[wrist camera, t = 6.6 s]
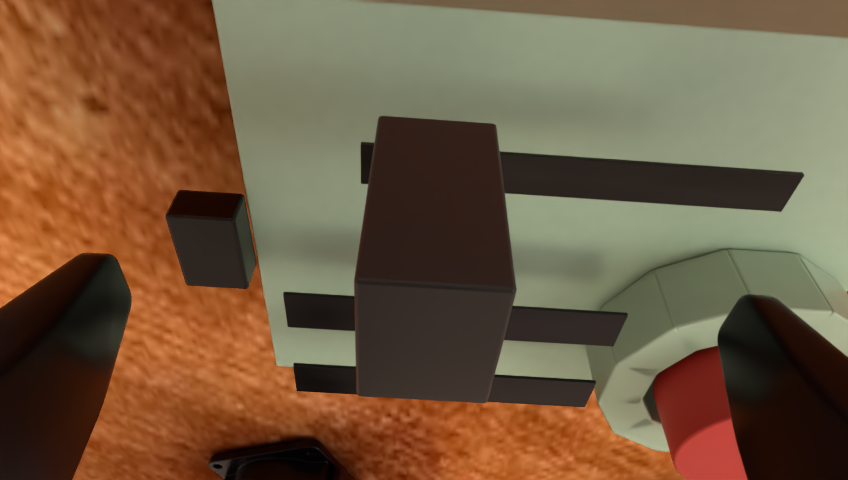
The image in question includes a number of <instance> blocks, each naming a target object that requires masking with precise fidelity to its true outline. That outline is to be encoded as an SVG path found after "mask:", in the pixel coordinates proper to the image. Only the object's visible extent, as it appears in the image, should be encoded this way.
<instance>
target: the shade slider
mask: <svg viewBox="0 0 848 480" xmlns="http://www.w3.org/2000/svg"><path fill="white" fill-rule="evenodd" d="M516 291H517V288H516V280H515V272H514V264H513V256H512V248H511V240H510V232H509V223H508V215H507V207H506V199H505V191H504V183H503V175H502V167H501V158H500V150H499V142H498V134H497V127H496V125H495V124H493V123H480V122H466V121H451V120H437V119H423V118H409V117H395V116H380V117H379V118H378V122H377V128H376V135H375V142H374V149H373V155H372V162H371V169H370V176H369V183H368V189H367V196H366V203H365V210H364V216H363V223H362V230H361V237H360V244H359V250H358V257H357V264H356V271H355V277H354V300H355V350H356V392H357V394H358V395H359V396H366V397H383V398H401V399H419V400H437V401H455V402H472V403H486V402H487V401H488V399H489V395H490V391H491V387H492V383H493V379H494V376H495V372H496V368H497V364H498V360H499V356H500V352H501V349H502V345H503V341H504V337H505V333H506V329H507V326H508V322H509V318H510V314H511V310H512V306H513V303H514V299H515V295H516Z"/></svg>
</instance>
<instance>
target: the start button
mask: <svg viewBox="0 0 848 480" xmlns="http://www.w3.org/2000/svg"><path fill="white" fill-rule="evenodd" d="M653 396H654V400H655V403H656V407H657V410H658V413H659V417H660V420H661V424H662V427H663V430H664V434H665V437H666V440H667V444H668V447H669V451H670V454H671V457H672V461H673V464H674V466H675V468H676V470H677V471H678V472H679V473H680V474H681V475H682V476H684V477H685V478H687V479H689V480H747V476H746V473H745V470H744V467H743V463H742V460H741V457H740V453H739V450H738V446H737V442H736V439H735V434H734V430H733V425H732V420H731V415H730V409H729V404H728V398H727V393H726V387H725V382H724V376H723V371H722V366H721V360H720V355H719V349H718V346H713V347H709V348H705V349H701V350H697V351H695V352H693V353H692V354H690V355H688V356H686V357H685V358H683V359H681V360H680V361H678V362H676V363H675V364H673V365H671V366H670V367H668V368H666V369H665V370H663V371H661V372H660V373H659V374H658V375H657V377H656V379H655V381H654V385H653Z"/></svg>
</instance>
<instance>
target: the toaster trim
mask: <svg viewBox="0 0 848 480" xmlns="http://www.w3.org/2000/svg"><path fill="white" fill-rule="evenodd" d="M373 149H374V143H372V142H361V184H368V183H369V176H370V169H371V162H372V155H373ZM500 158H501V167H502V175H503V183H504V191H505V193H507V194H522V195H537V196H552V197H567V198H581V199H596V200H611V201H626V202H641V203H656V204H671V205H686V206H701V207H716V208H731V209H746V210H761V211H776V212H782V210H783V209H784V207H785V205H786V204H787V202H788V201H789V199H790V198H791V196H792V194H793V193H794V191H795V190H796V188H797V186H798V185H799V183H800V182H801V180H802V179H803V177H804V174H803V172H793V171H778V170H764V169H749V168H735V167H720V166H706V165H691V164H677V163H662V162H648V161H633V160H619V159H604V158H590V157H575V156H561V155H546V154H532V153H517V152H503V151H500ZM166 220H167V223H168V227H169V230H170V233H171V237H172V240H173V243H174V246H175V250H176V253H177V256H178V259H179V263H180V266H181V269H182V272H183V276H184V279H185V282H186V284H187V285H190V286H206V287H222V288H239V289H247V288H248V287H249V284H250V281H251V278H252V275H253V272H254V268H255V265H256V258H255V253H254V247H253V241H252V236H251V230H250V225H249V219H248V214H247V208H246V203H245V197H244V195H243V194H235V193H220V192H205V191H190V190H179V191H178V192H177V194H176V196H175V198H174V200H173V202H172V203H171V205H170V207H169V209H168V211H167V213H166ZM283 298H284V305H285V312H286V319H287V326H288V327H292V328H309V329H326V330H343V331H355V300H354V296H348V295H331V294H315V293H299V292H284V293H283ZM627 317H628V314H627V313H625V312H609V311H593V310H576V309H560V308H544V307H527V306H512V310H511V314H510V318H509V322H508V326H507V329H506V333H505V337H504V340H511V341H527V342H544V343H561V344H578V345H595V346H611V347H613V346H614V344H615V342H616V340H617V338H618V336H619V334H620V332H621V330H622V327H623V325H624V323H625V321H626V319H627ZM293 367H294V374H295V381H296V388H297V391H306V392H324V393H342V394H357V392H356V366H341V365H324V364H306V363H294V365H293ZM595 384H596V381H595V380H583V379H566V378H549V377H531V376H514V375H497V374H495V376H494V379H493V383H492V387H491V391H490V395H489V399H488V401H487V402H502V403H519V404H537V405H555V406H573V407H585V405H586V403H587V401H588V399H589V397H590V395H591V393H592V391H593V389H594V386H595Z"/></svg>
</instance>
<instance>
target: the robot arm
mask: <svg viewBox="0 0 848 480" xmlns="http://www.w3.org/2000/svg"><path fill="white" fill-rule="evenodd" d="M130 308H131V292H130V289H129V287H128V284H127V282H126V280H125V277H124V275H123V272H122V270H121V267H120V265H119V263H118V261H117V259H116V258H115V257H114V256H113V255H110V254H102V253H82V254H80V255H78V256H76V257H74V258H73V259H71V260H70V261H69V262H67V263H66V264H64V265H63V266H61V267H60V268H58V269H57V270H55V271H54V272H52V273H51V274H50V275H48V276H47V277H45V278H44V279H42V280H41V281H39V282H38V283H36V284H35V285H33V286H32V287H31V288H29V289H28V290H26V291H25V292H23V293H22V294H20V295H19V296H17V297H16V298H14V299H13V300H12V301H10V302H9V303H7V304H6V305H4V306H3V307H1V308H0V480H72V479H73V476H74V474H75V471H76V469H77V466H78V464H79V462H80V459H81V457H82V454H83V452H84V450H85V447H86V445H87V442H88V440H89V438H90V435H91V433H92V430H93V428H94V425H95V423H96V421H97V418H98V416H99V413H100V410H101V408H102V405H103V402H104V399H105V396H106V393H107V390H108V386H109V383H110V379H111V376H112V372H113V369H114V365H115V362H116V358H117V355H118V351H119V347H120V344H121V340H122V337H123V333H124V330H125V326H126V323H127V319H128V316H129V312H130ZM717 342H718V349H719V355H720V360H721V366H722V371H723V376H724V382H725V387H726V393H727V398H728V404H729V409H730V415H731V420H732V425H733V430H734V434H735V439H736V442H737V446H738V450H739V453H740V457H741V460H742V463H743V467H744V470H745V473H746V476H747V480H848V357H847V356H846V355H845V354H844V353H843V352H841V351H840V350H839V349H838V348H836V347H835V346H834V345H833V344H832V343H830V342H829V341H828V340H827V339H826V338H824V337H823V336H822V335H821V334H820V333H818V332H817V331H816V330H815V329H814V328H812V327H811V326H810V325H809V324H808V323H806V322H805V321H804V320H803V319H802V318H800V317H799V316H798V315H797V314H795V313H794V312H793V311H792V310H791V309H789V308H788V307H787V306H786V305H785V304H783V303H782V302H781V301H780V300H778V299H777V298H775V297H773V296H769V295H755V294H746V295H743V296H742V297H740V298H739V299H738V301H737V302H736V304H735V305H734V307H733V308H732V310H731V311H730V313H729V314H728V316H727V317H726V319H725V320H724V322H723V324H722V325H721V327H720V329H719V332H718V337H717ZM208 466H209V467H210V468H211V469H212V470H213V471H215V472H216V473H217V474H218V475H220V476H221V477H222V478H223V479H224V480H355V479H354V478H353V477H352V476H351V475H350V474H349V473H348V472H347V471H346V469H345V468H344V467H343V466H342V465H341V464H340V463H339V462H338V461H337V460H336V459H335V458H334V457H333V455H332V454H331V453H330V452H329V451H328V450H327V449H326V448H325V447H324V446H323V445H322V444H321V443H320V442H319V441H316V440H304V441H298V442H292V443H286V444H279V445H273V446H267V447H261V448H254V449H248V450H242V451H236V452H229V453H223V454H217V455H213V456H211V457H210V461H209V464H208Z"/></svg>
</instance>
